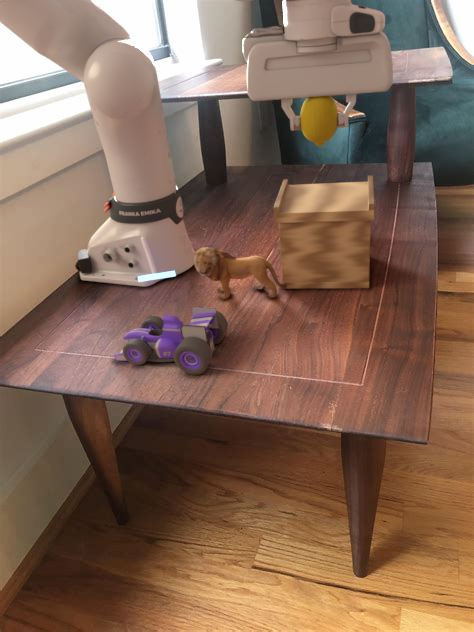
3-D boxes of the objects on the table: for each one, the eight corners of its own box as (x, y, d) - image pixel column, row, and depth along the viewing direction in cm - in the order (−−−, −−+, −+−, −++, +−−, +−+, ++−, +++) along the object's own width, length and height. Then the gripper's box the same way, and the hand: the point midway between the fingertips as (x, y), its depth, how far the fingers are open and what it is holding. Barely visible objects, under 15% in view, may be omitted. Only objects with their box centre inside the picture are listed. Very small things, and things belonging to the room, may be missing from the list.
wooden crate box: (280, 290, 91) (273, 207, 84) (288, 255, 102) (283, 179, 94) (372, 290, 88) (374, 203, 80) (371, 254, 99) (372, 175, 91)
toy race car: (139, 330, 85) (130, 294, 82) (230, 337, 81) (224, 299, 78) (110, 367, 78) (99, 329, 74) (209, 377, 73) (202, 337, 70)
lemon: (307, 141, 85) (304, 86, 80) (342, 141, 83) (341, 84, 78) (296, 152, 80) (293, 94, 76) (334, 152, 78) (332, 93, 74)
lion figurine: (199, 305, 90) (190, 256, 85) (201, 289, 94) (193, 242, 90) (288, 297, 89) (284, 247, 84) (286, 281, 93) (282, 233, 89)
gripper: (236, 32, 72) (246, 137, 80) (396, 15, 68) (391, 129, 75) (245, 27, 78) (253, 127, 85) (394, 11, 73) (390, 118, 80)
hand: (319, 128), depth 80 cm, fingers closed on lemon, 5 cm apart
